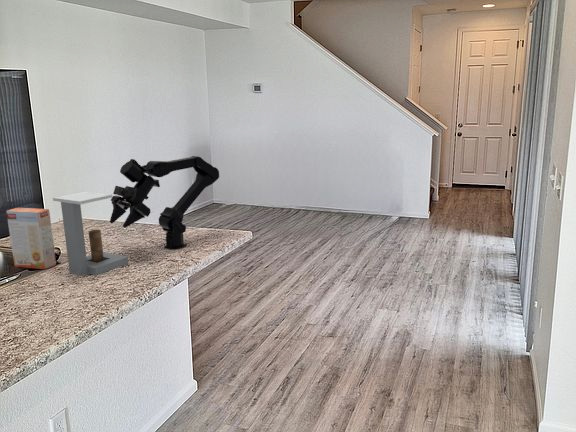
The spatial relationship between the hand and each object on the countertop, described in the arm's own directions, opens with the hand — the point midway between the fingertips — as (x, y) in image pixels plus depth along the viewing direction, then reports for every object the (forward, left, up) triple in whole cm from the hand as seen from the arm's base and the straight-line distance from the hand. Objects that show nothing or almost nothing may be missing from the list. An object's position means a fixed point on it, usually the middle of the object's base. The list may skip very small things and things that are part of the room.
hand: (117, 224), depth 189 cm
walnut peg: (+8, -2, -14) cm, 16 cm away
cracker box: (+19, -23, -14) cm, 33 cm away
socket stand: (+9, -2, -14) cm, 17 cm away
